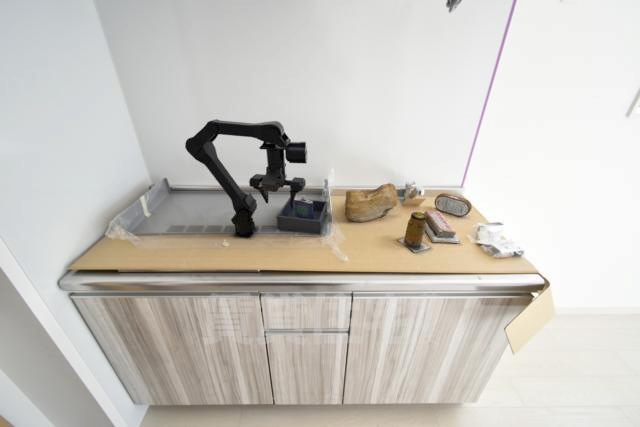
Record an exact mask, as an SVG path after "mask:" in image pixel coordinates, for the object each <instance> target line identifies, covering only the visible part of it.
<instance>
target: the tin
mask: <svg viewBox="0 0 640 427" xmlns="http://www.w3.org/2000/svg"><path fill="white" fill-rule="evenodd" d="M434 206H435V208H436V209H437V211H439V212H443V213H446V214H449V215H453V216H455V217H461V218H462V217H465V216H467V215H469V213H470V212H471V210H472V208H473V206H472V204H471V202H470V200H468V199H467V198H464V197H460V196H457V195H454V194H451V193H447V192H442V193H439V194H438V195H437V196H436V197H435V198H434Z"/></svg>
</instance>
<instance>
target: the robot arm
mask: <svg viewBox="0 0 640 427" xmlns="http://www.w3.org/2000/svg"><path fill="white" fill-rule="evenodd" d="M219 135H221V136H231V137H232V136H233V137H246V138H253V139H257V140H259V141H261V142H262V144H261V145H260V146H259V148H258V149H259V150H265V152H266V163H267V164H266V165H267V167H266V169H265V174H262V173H260V174H259V173H255V174H254V175H253V176H252V177H250V178H249V180H248V184H249V185H248V186H249V187H250V188H253V189H254V190H256V191H258V192H259V193H260V195H261V197H262V198H263V201H264V202H265V204H269V192H272V193H276V192H278V190H279V189H280V188H284V186H285V187H289V188H290V190H289V193H290V195H289V196H290V197H289V198H290V206H292V205H293V202H294V199H295V198H296V196H297V194H298V193H299V192H302V191H303V190H304V189H305V187H306V184H307V181H306V179H305V177H296V176H294V177H293V178H292V179H291V180H290V179H287V178H288V176H287V174H286V167H287V163H286V161H287V162H288V163H289V164H303V165H304V164H306V165H307V163H308V149H307V148H308V147H307V141H292V140H291V139H290V137H289V136H288V135H287V133H286V132H285V127H284V125H283V124H282V123H281V122H279V121H278V120H271V121H270V120H269V121H263V122H262V121H261V122H256V123H252V122H243V121H242V122H241V121H232V120H231V121H230V120H220V119H217V118H216V119H211V120H210V121H207V123H206V124H204V127H202V128H201V129H200V130H199V131H198V132H197V133H196V134H195V135H194V136H191V137H189V138H187V139H186V141H185V144H184V145H185V146H184V147H185V150H186V151H187V153H188V154H189V155H190V156H192V158H194V160H195V161H197V162H199V163H200V164H202V165H204V166H205V167H206V169H207V170H208V171H209V173H210V174H211V175H212V176H213V177H214V180H216V182H217V183H218V184H219V185H220V187H221V188H222V189H223V191H224V193H226V195H227V196H228V197H229V199H230V200H231V204H232V209H233V211H234V215H233V216H232V217H231V219H230V221H231V223H232V225H234V229H235V232H234V233H233V236H234V237H240V238H248V239H250V238H251V237H252V236H253V234H255V232H256V230H257V228H256V224H255V221H254V217H253V215H254V214H255V212H256V210H257V209H258V208H257V207H258V203H257V200H256V198H254V196H253V194H252V192H248V193H246V192H244V191H243V190H242V189H241V188H240V186H239V185H238V183H237V182H236V180H235V179H234V178H233V176H232V175H231V174H230V172H229V171H228V169H227V168H226V167H225V165H224V163H222V161H221V159H220V158H219V156H218V154H217V149H216V146H215V145H214V141H216V139H218V136H219Z"/></svg>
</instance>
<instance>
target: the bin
mask: <svg viewBox="0 0 640 427" xmlns="http://www.w3.org/2000/svg"><path fill="white" fill-rule="evenodd" d="M306 199H307V200H310V201H312V202H313V220H312V219H303V218H294V217H293V205H292V206H290V197H289V198H288V199H287V201H286V202H285V204H284V205H283V206H282V208H281V209H280V210H279V212H278V214H277V215H276V218H275V219H276V229H277V230H283V231H292V232H300V233H309V234H317V235H321V233H322V230H323V227H324V224H325V221H326V218H327V216H328V211H327V206H329V202H328V201H327V200H317V199H308V198H306ZM326 213H327V214H326Z"/></svg>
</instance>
